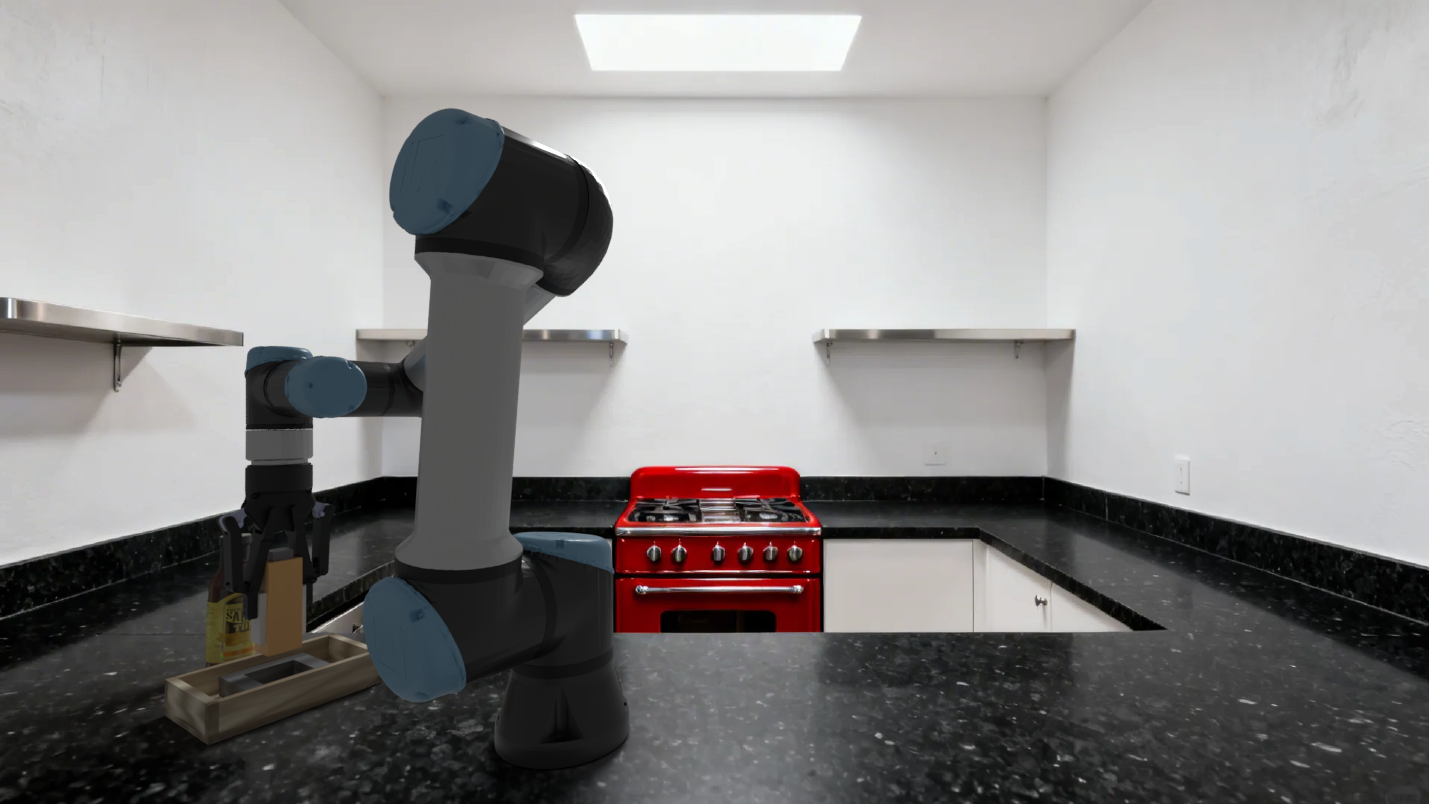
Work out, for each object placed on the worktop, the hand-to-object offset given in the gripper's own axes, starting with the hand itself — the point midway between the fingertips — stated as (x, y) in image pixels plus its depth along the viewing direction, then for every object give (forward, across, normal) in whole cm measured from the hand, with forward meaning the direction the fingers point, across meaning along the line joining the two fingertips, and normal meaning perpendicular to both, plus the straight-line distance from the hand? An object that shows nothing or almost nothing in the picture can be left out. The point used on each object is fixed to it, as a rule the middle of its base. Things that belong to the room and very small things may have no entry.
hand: (278, 636), depth 84 cm
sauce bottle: (+8, -1, -18) cm, 20 cm away
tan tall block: (+2, 0, 0) cm, 2 cm away
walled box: (+8, 0, 0) cm, 8 cm away
